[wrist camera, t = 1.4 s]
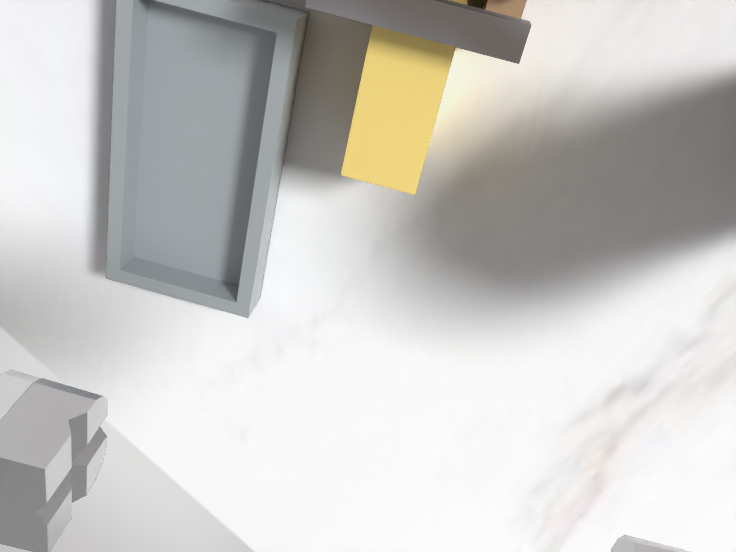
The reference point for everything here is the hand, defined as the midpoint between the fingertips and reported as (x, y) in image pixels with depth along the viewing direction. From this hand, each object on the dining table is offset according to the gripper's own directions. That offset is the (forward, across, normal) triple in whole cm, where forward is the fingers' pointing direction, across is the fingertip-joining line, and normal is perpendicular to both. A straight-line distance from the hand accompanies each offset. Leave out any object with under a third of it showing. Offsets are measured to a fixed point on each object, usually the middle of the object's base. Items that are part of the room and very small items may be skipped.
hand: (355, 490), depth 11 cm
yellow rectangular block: (+22, +1, -2) cm, 23 cm away
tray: (+22, +10, +5) cm, 25 cm away
